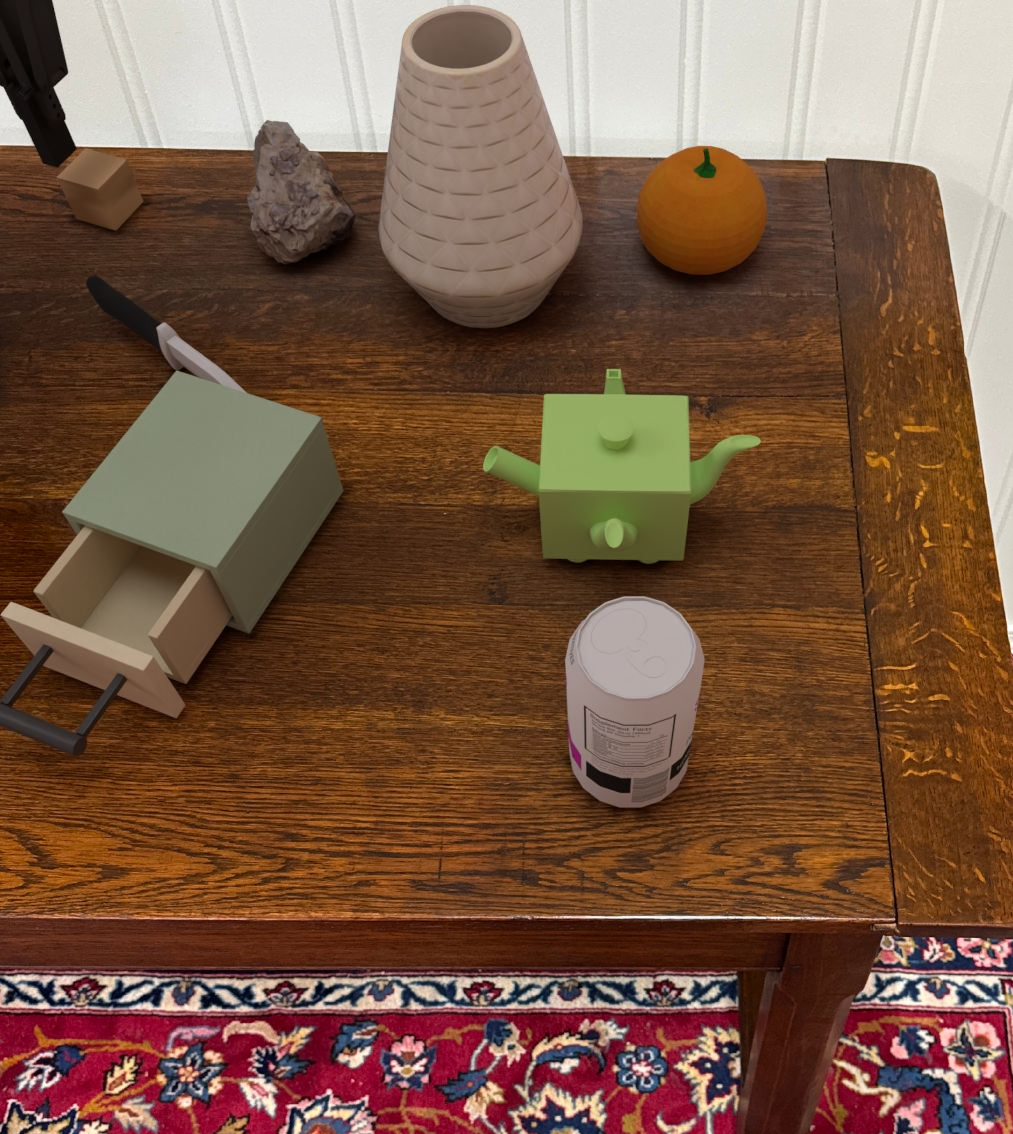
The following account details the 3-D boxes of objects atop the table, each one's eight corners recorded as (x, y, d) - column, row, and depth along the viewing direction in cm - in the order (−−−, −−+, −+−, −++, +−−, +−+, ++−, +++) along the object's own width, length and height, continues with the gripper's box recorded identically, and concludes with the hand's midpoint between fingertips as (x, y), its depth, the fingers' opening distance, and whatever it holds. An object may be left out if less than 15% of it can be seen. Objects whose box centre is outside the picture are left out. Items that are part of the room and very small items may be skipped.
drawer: (126, 794, 77) (87, 750, 71) (-12, 737, 79) (-61, 690, 73) (274, 572, 86) (251, 516, 80) (147, 526, 88) (115, 469, 82)
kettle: (746, 524, 89) (765, 427, 79) (622, 635, 84) (625, 546, 74) (608, 423, 94) (610, 321, 85) (484, 522, 89) (470, 425, 80)
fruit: (608, 245, 106) (610, 149, 97) (697, 189, 110) (706, 92, 101) (699, 310, 101) (708, 216, 92) (788, 249, 105) (805, 153, 96)
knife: (304, 448, 93) (290, 405, 89) (288, 460, 93) (273, 418, 88) (115, 310, 102) (94, 265, 97) (99, 321, 101) (77, 276, 97)
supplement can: (545, 751, 79) (536, 639, 66) (634, 684, 82) (642, 564, 69) (622, 835, 76) (628, 735, 63) (712, 762, 78) (735, 652, 66)
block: (75, 219, 108) (56, 177, 104) (103, 189, 110) (85, 147, 106) (116, 231, 107) (98, 189, 103) (143, 201, 109) (126, 159, 105)
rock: (277, 300, 106) (322, 251, 98) (186, 196, 102) (225, 137, 95) (337, 253, 111) (384, 202, 103) (252, 152, 107) (294, 92, 100)
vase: (585, 222, 107) (583, -28, 87) (581, 356, 98) (578, 111, 78) (401, 221, 107) (357, -29, 88) (380, 355, 99) (326, 110, 79)
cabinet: (249, 634, 84) (216, 567, 77) (106, 581, 87) (61, 511, 79) (344, 490, 91) (321, 416, 84) (209, 445, 94) (176, 369, 86)
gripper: (-203, -153, 75) (-32, 163, 95) (-43, -115, 72) (98, 202, 92) (-125, -203, 78) (24, 112, 98) (30, -169, 75) (150, 148, 96)
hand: (60, 155), depth 95 cm, fingers closed
